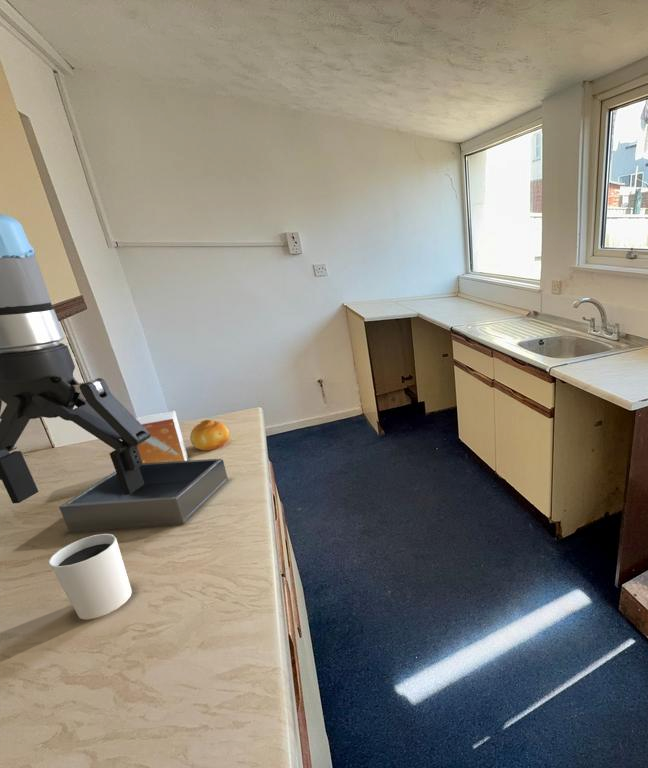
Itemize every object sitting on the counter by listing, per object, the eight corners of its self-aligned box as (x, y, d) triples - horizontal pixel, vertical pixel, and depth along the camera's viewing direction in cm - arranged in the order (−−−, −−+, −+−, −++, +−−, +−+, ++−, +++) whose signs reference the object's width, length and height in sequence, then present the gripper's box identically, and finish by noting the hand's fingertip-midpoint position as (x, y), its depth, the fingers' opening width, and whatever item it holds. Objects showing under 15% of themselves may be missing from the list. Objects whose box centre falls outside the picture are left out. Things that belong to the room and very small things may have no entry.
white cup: (120, 581, 63) (99, 529, 60) (146, 593, 61) (126, 539, 58) (63, 615, 57) (37, 559, 54) (90, 629, 55) (65, 572, 52)
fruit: (211, 448, 101) (214, 417, 103) (180, 451, 101) (183, 420, 103) (234, 450, 109) (236, 421, 111) (205, 452, 109) (208, 423, 111)
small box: (143, 477, 93) (126, 426, 89) (147, 466, 98) (131, 417, 93) (187, 466, 97) (173, 418, 93) (188, 456, 102) (175, 410, 98)
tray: (70, 534, 74) (58, 506, 72) (134, 487, 89) (126, 464, 87) (184, 525, 76) (176, 498, 74) (228, 481, 91) (222, 458, 89)
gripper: (-141, 358, 44) (-55, 518, 51) (109, 349, 47) (160, 500, 54) (-59, 344, 51) (7, 486, 58) (154, 337, 54) (194, 472, 61)
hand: (81, 493), depth 56 cm, fingers open, 13 cm apart
